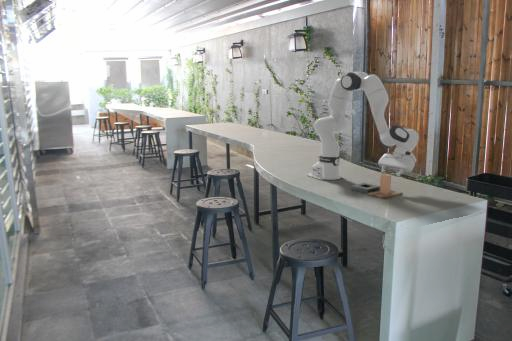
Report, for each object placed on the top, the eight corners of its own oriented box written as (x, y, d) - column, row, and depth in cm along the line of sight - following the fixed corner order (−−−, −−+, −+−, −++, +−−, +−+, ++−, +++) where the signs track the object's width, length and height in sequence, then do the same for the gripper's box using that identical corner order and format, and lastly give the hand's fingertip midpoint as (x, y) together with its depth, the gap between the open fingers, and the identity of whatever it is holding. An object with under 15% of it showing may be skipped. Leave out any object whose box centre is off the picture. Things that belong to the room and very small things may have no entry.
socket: (351, 189, 262) (351, 185, 262) (363, 186, 270) (363, 182, 269) (367, 193, 254) (367, 189, 253) (380, 190, 261) (380, 186, 260)
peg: (379, 192, 252) (380, 174, 250) (384, 191, 255) (385, 173, 252) (385, 194, 249) (386, 176, 247) (390, 192, 251) (391, 175, 249)
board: (367, 195, 251) (367, 193, 251) (385, 190, 261) (385, 188, 261) (384, 199, 243) (384, 197, 243) (402, 194, 253) (402, 192, 252)
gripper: (383, 149, 262) (371, 168, 258) (415, 153, 247) (403, 174, 242) (387, 155, 266) (376, 174, 262) (419, 161, 250) (407, 181, 246)
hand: (389, 174), depth 252 cm, fingers open, 8 cm apart
